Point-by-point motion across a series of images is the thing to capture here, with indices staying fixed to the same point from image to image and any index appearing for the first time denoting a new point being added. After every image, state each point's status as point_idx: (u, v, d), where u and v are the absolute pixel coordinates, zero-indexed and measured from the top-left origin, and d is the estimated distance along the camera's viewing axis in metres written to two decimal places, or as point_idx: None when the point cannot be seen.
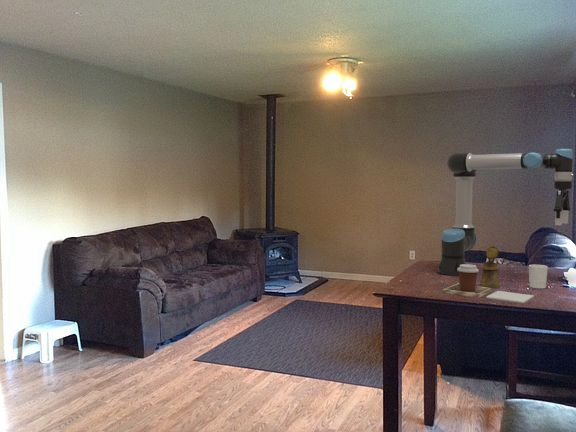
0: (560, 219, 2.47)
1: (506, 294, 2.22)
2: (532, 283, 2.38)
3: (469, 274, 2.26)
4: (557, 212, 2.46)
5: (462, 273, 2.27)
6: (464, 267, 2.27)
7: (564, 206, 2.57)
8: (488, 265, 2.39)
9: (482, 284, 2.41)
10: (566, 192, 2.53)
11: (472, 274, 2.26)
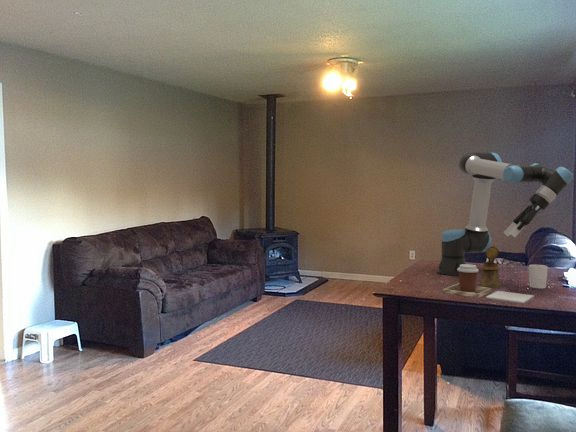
0: (518, 231, 2.21)
1: (506, 294, 2.22)
2: (532, 283, 2.38)
3: (469, 274, 2.26)
4: (522, 224, 2.19)
5: (462, 273, 2.27)
6: (464, 267, 2.27)
7: (518, 220, 2.33)
8: (488, 265, 2.39)
9: (482, 284, 2.41)
10: None
11: (472, 274, 2.26)
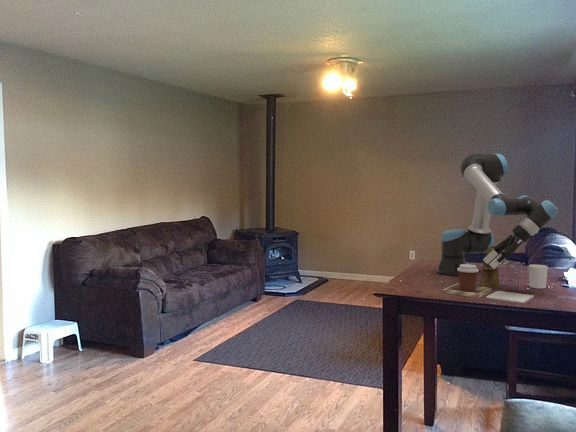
0: (498, 263, 2.19)
1: (506, 294, 2.22)
2: (532, 283, 2.38)
3: (469, 274, 2.26)
4: (503, 256, 2.17)
5: (462, 273, 2.27)
6: (464, 267, 2.27)
7: (499, 248, 2.31)
8: (488, 265, 2.39)
9: (482, 284, 2.41)
10: None
11: (472, 274, 2.26)
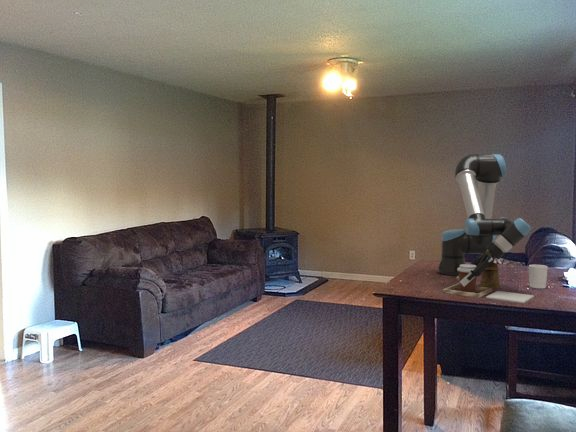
0: (468, 281, 2.24)
1: (506, 294, 2.22)
2: (532, 283, 2.38)
3: None
4: (472, 275, 2.23)
5: (462, 273, 2.27)
6: (464, 267, 2.27)
7: None
8: None
9: (482, 284, 2.41)
10: None
11: None
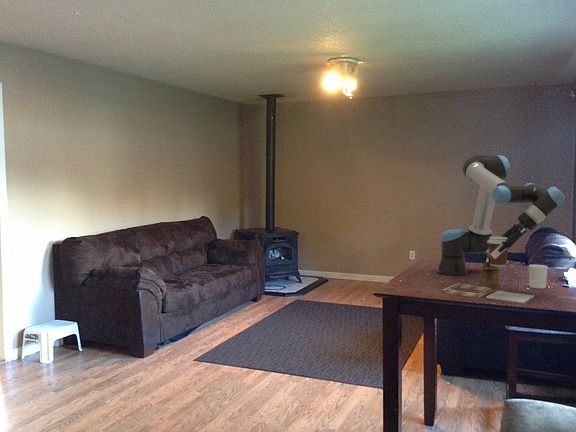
0: (499, 253, 2.15)
1: (506, 294, 2.22)
2: (532, 283, 2.38)
3: None
4: (504, 246, 2.13)
5: (492, 245, 2.18)
6: (495, 239, 2.17)
7: None
8: (488, 265, 2.39)
9: (482, 284, 2.41)
10: None
11: None
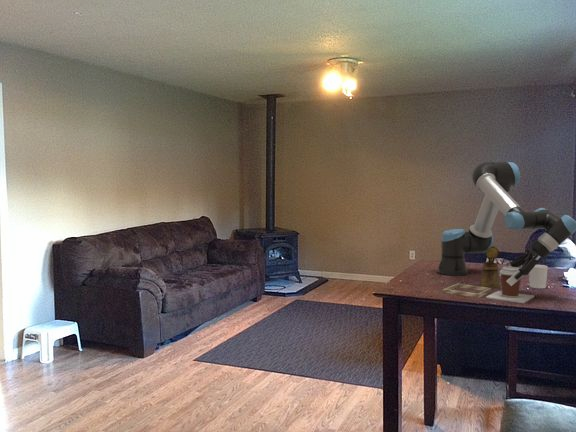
0: (515, 280, 2.11)
1: None
2: (532, 283, 2.38)
3: None
4: (520, 273, 2.10)
5: (505, 276, 2.16)
6: (508, 270, 2.16)
7: (516, 264, 2.23)
8: (488, 265, 2.39)
9: (482, 284, 2.41)
10: None
11: None
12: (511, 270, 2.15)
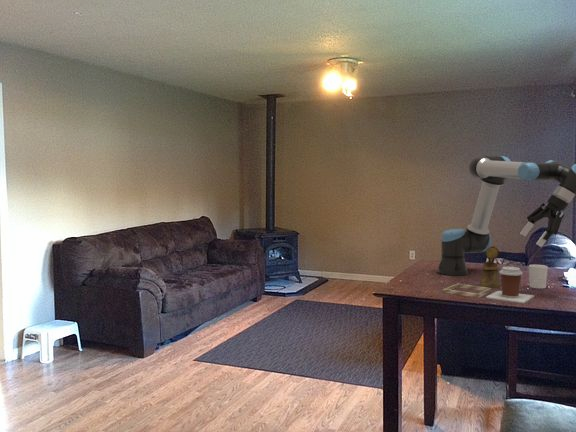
0: (544, 241, 2.17)
1: None
2: (532, 283, 2.38)
3: (513, 277, 2.15)
4: (549, 234, 2.14)
5: (505, 276, 2.16)
6: (507, 270, 2.16)
7: (534, 219, 2.27)
8: (488, 265, 2.39)
9: (482, 284, 2.41)
10: None
11: (516, 277, 2.15)
12: (511, 270, 2.15)
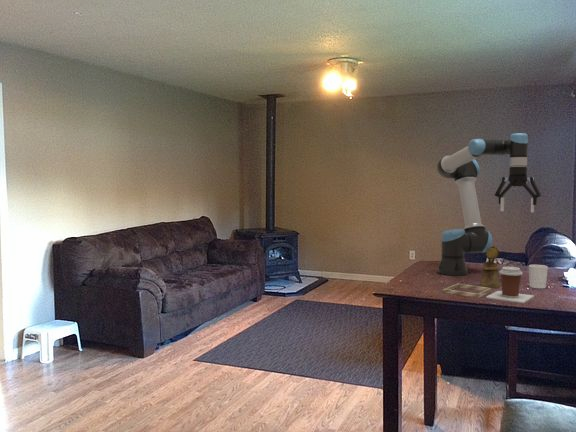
0: (533, 206, 2.40)
1: None
2: (532, 283, 2.38)
3: (513, 277, 2.15)
4: (536, 199, 2.38)
5: (505, 276, 2.16)
6: (507, 270, 2.16)
7: (504, 193, 2.47)
8: (488, 265, 2.39)
9: (482, 284, 2.41)
10: None
11: (516, 277, 2.15)
12: (511, 270, 2.15)
